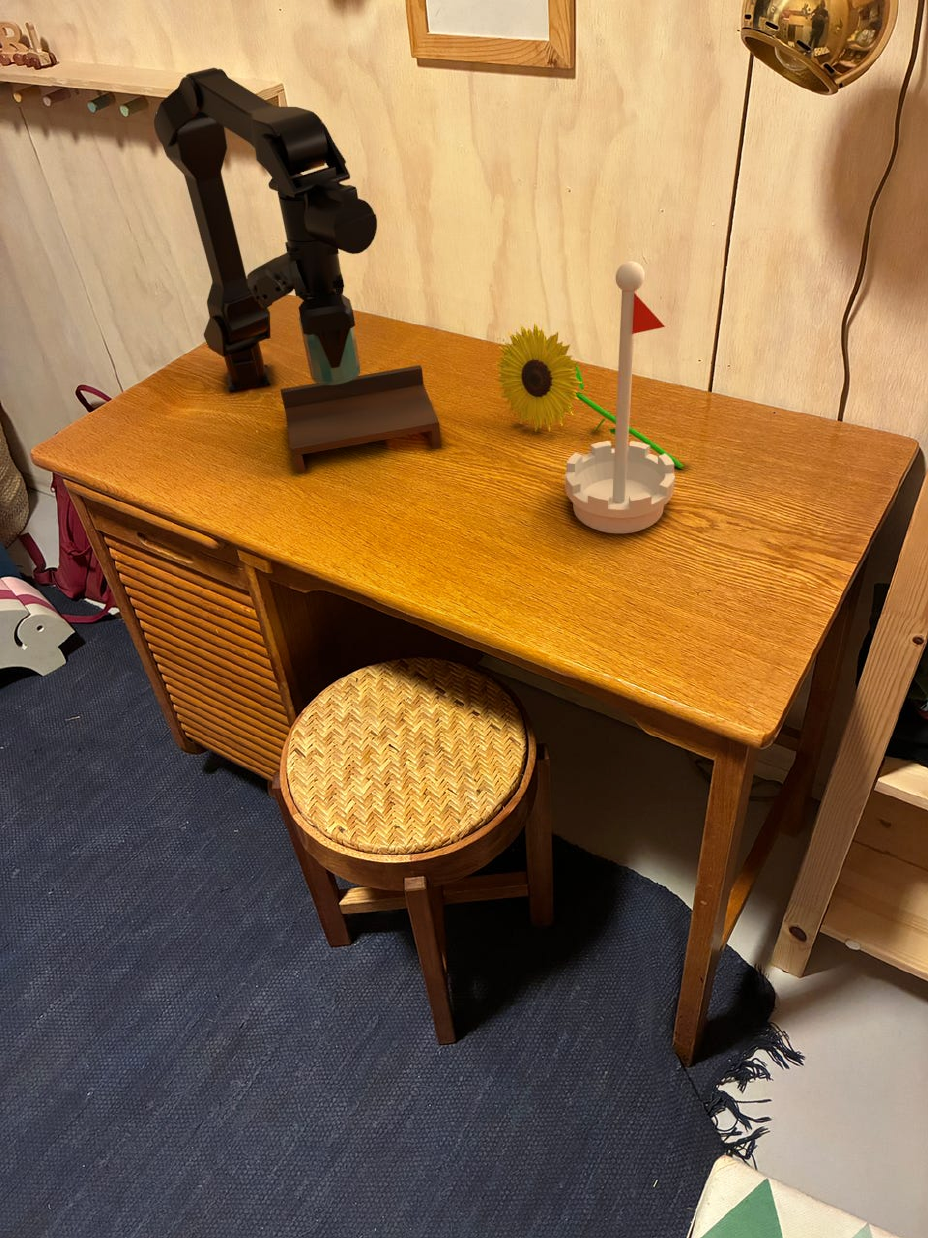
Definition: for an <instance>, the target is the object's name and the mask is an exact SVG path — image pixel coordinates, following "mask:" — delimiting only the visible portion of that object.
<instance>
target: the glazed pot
mask: <svg viewBox="0 0 928 1238" xmlns="http://www.w3.org/2000/svg"><path fill="white" fill-rule="evenodd" d="M298 320H299V326H300V330H301V335H302V341H303V345H304V351H305V356H306V359H307V365H308V370H309V374H310V379H311V380H312V382H314V383H318V384H322V385H338V384H343V383H346V382H349V381H351V380H353V379H355V378H356V377H357V376H360V373H361V371H362V369H361V363H360V357H359V351H358V344H357V339H356V333H355V326H354V327H352V328H350V331H349V334H348V338H347V341H346V345H345V349H344V352H343V356H342V360H341V364H340V367H337V368H331V366H330V364H329V361H328V359H327V357H326V354H325V352H324V350H323V347H322V345H321V343H320V341H319V338H318V337H317V336H316V335H314V334H312V335H306V334H303V329H302V324H301V319H300V316H299V317H298Z"/></svg>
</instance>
